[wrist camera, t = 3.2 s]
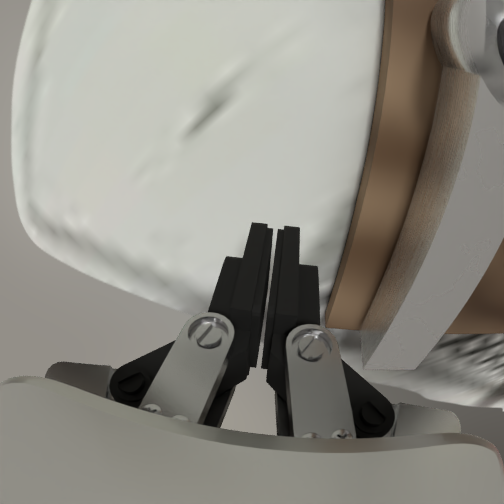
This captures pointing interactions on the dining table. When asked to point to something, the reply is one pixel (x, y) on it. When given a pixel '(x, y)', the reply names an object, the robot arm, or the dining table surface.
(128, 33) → the dining table surface
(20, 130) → the dining table surface
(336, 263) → the dining table surface
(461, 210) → the link
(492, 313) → the board
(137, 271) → the dining table surface
